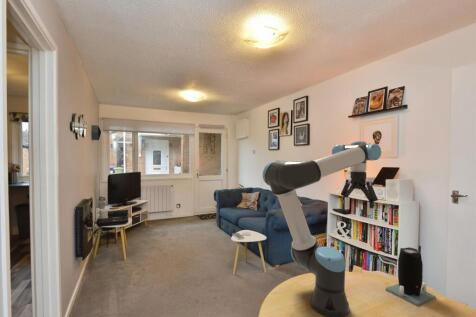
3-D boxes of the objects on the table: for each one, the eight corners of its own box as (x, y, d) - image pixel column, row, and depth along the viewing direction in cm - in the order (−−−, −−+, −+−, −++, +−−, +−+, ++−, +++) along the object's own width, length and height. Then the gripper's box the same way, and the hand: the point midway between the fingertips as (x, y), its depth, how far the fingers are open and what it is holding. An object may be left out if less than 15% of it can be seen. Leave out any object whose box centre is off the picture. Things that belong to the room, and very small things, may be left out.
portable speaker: (424, 299, 109) (425, 254, 109) (400, 294, 113) (400, 251, 113) (418, 289, 117) (419, 248, 117) (395, 285, 121) (396, 245, 121)
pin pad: (417, 306, 106) (417, 294, 106) (385, 290, 118) (385, 279, 118) (435, 298, 112) (435, 287, 112) (403, 283, 124) (403, 273, 124)
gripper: (386, 172, 120) (385, 216, 120) (343, 169, 142) (343, 206, 142) (376, 172, 117) (375, 218, 117) (334, 170, 139) (333, 207, 139)
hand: (357, 211), depth 130 cm, fingers open, 13 cm apart
